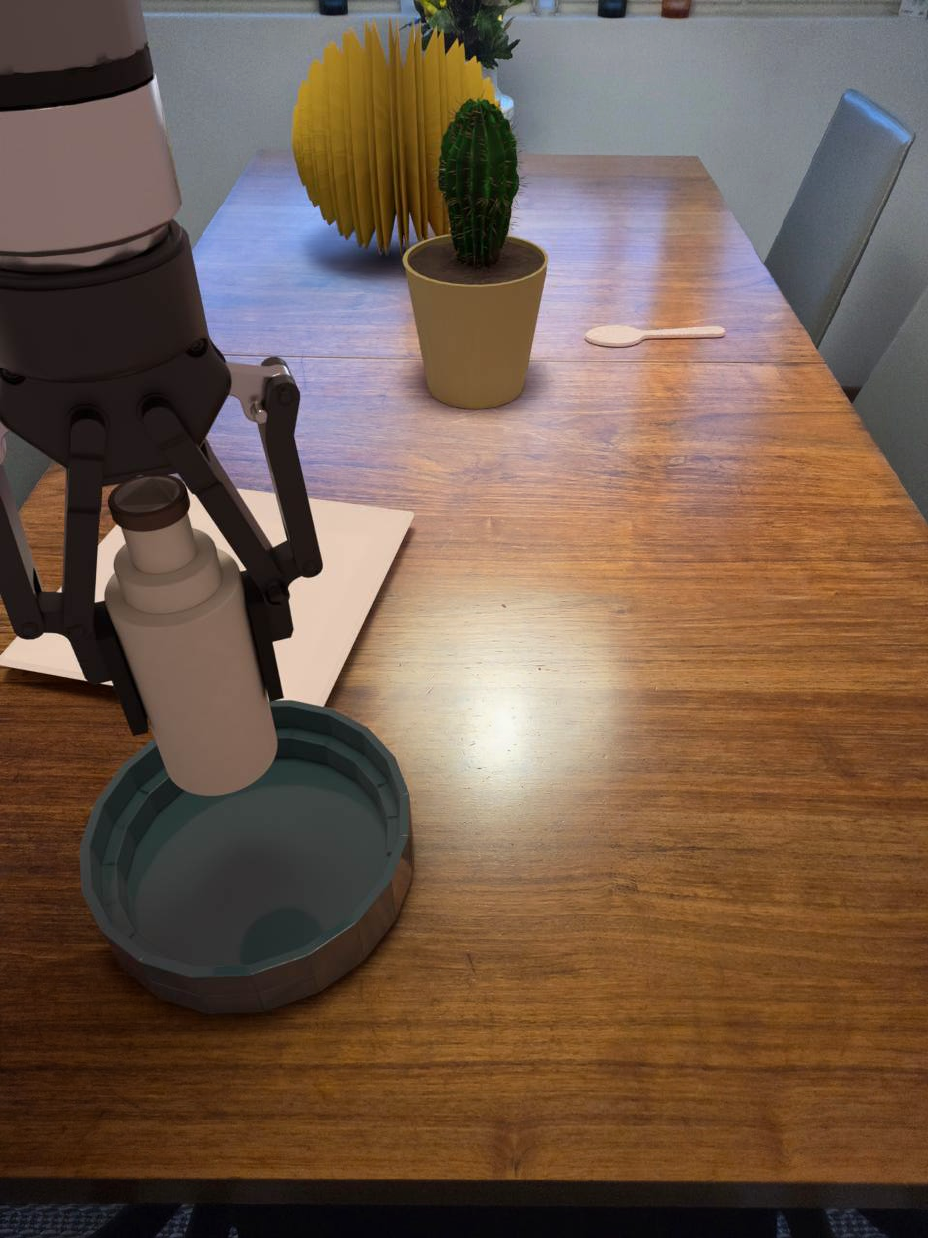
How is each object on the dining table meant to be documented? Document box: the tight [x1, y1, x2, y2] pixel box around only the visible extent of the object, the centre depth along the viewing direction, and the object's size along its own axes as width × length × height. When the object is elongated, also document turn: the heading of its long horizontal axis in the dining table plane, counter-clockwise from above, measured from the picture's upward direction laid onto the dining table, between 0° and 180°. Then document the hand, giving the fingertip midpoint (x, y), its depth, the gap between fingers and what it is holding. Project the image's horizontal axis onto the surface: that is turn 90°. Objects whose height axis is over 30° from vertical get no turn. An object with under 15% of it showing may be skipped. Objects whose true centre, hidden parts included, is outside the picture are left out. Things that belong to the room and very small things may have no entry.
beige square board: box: [0, 480, 415, 707], centre depth 74 cm, size 26×26×2 cm
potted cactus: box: [402, 89, 549, 410], centre depth 92 cm, size 15×15×30 cm
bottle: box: [104, 474, 277, 796], centre depth 42 cm, size 6×6×17 cm
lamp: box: [291, 15, 503, 258], centre depth 124 cm, size 30×30×30 cm
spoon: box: [584, 324, 726, 348], centre depth 111 cm, size 5×18×1 cm, turn 94°
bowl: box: [79, 700, 414, 1015], centre depth 54 cm, size 19×19×5 cm
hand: (206, 697), depth 45 cm, fingers closed on bottle, 6 cm apart
